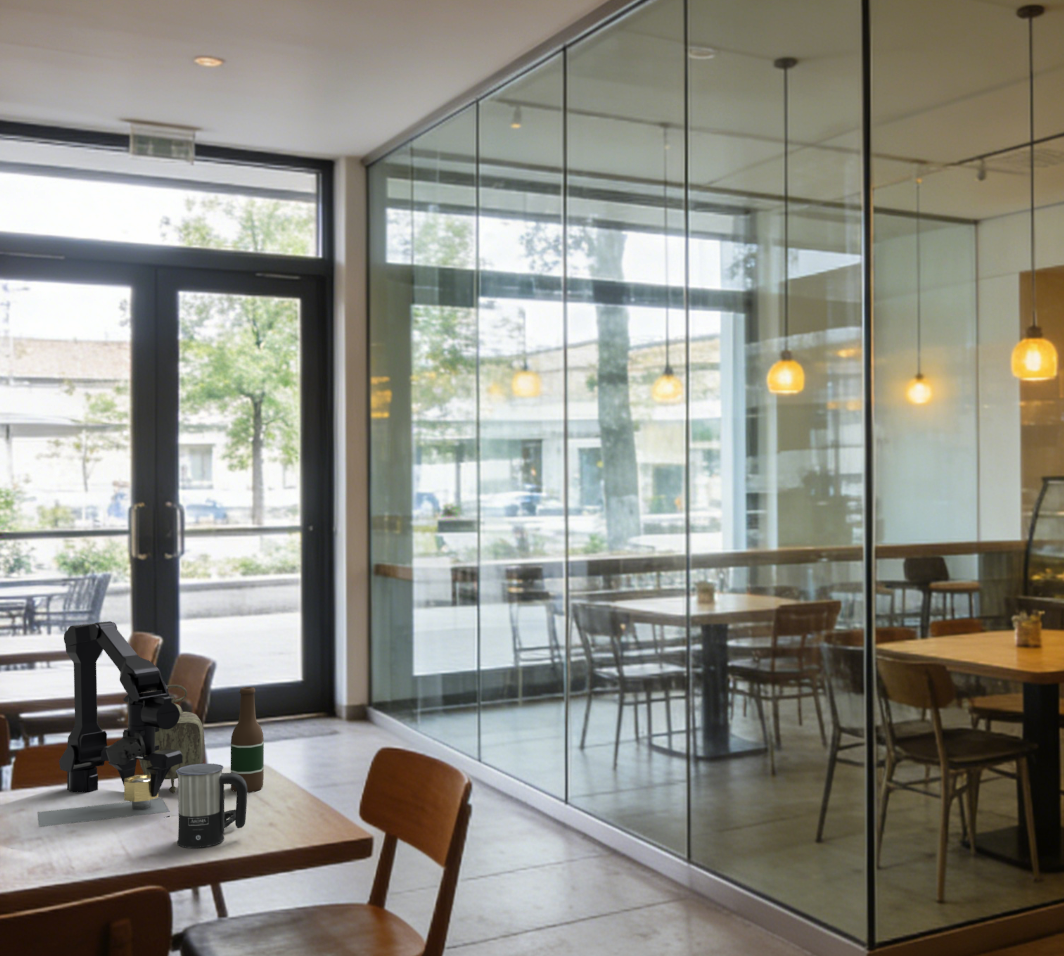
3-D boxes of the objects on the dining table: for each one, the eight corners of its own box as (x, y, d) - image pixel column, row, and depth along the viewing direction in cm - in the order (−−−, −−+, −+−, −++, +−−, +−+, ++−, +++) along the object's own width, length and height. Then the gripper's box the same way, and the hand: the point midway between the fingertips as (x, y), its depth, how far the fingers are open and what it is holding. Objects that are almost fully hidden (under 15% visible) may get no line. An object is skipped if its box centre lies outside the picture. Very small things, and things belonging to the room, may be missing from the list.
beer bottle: (270, 786, 270) (270, 686, 270) (252, 794, 262) (252, 691, 263) (242, 783, 272) (242, 684, 272) (223, 791, 265) (224, 689, 265)
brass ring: (117, 799, 245) (117, 780, 245) (140, 791, 251) (140, 773, 252) (141, 802, 242) (141, 784, 242) (164, 794, 249) (164, 776, 249)
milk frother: (180, 851, 220) (180, 775, 220) (166, 830, 234) (167, 759, 234) (253, 841, 226) (253, 767, 227) (235, 821, 240) (235, 752, 241)
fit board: (39, 832, 232) (39, 797, 233) (37, 817, 243) (37, 784, 243) (169, 817, 244) (169, 783, 244) (162, 803, 254) (162, 771, 255)
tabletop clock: (200, 783, 272) (201, 680, 273) (205, 792, 264) (206, 685, 264) (137, 789, 266) (138, 684, 267) (141, 799, 258) (141, 690, 259)
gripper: (81, 726, 244) (81, 798, 243) (147, 734, 236) (147, 808, 236) (120, 717, 254) (119, 786, 254) (184, 724, 246) (184, 795, 246)
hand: (141, 794), depth 247 cm, fingers closed on brass ring, 7 cm apart
